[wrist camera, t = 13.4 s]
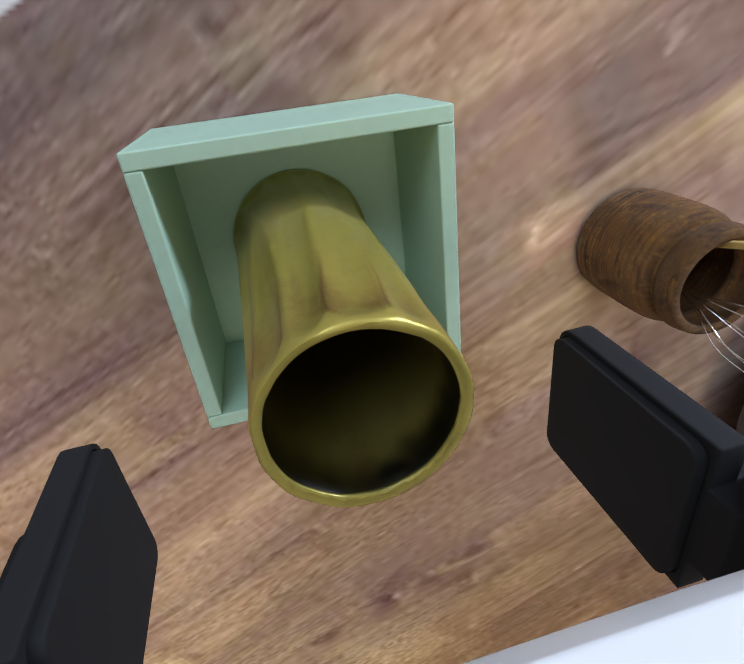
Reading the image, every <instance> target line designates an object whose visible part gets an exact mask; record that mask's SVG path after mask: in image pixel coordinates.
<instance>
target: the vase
mask: <svg viewBox="0 0 744 664" xmlns="http://www.w3.org/2000/svg"><path fill="white" fill-rule="evenodd" d="M233 240H234V245H235V248H236V252H237V261H238V269H239V284H240V297H241V307H242V321H243V333H244V347H245V363H246V376H247V390H248V424H247V426H248V430H249V433H250V436H251V439H252V442H253V445H254V448H255V452H256V455H257V457H258V460H259V463H260V464H261V466H262V467H263V469H264V471H265V472H266V473H267V474H268V475H269V476H270V477H271V478H272V480H274V481H275V482H276V483H277V484H278V485H279V486H280V487H281V488H282V489H284V490H285V491H286V492H288V493H289V494H291V495H293V496H295V497H298V498H301V499H304V500H307V501H311V502H315V503H319V504H323V505H328V506H336V507H354V506H362V505H368V504H372V503H377V502H381V501H384V500H387V499H390V498H393V497H395V496H397V495H399V494H402V493H403V492H405V491H407V490H409V489H411V488H412V487H414V486H416V485H418V484H419V483H421V482H423V481H424V480H425V479H427V478H428V477H429V476H431V475H432V474H433V473H434V472H435V471H436V470H438V469H439V468H440V467H441V466H442V465H443V464H444V462H445V461H446V460H447V459H448V458H449V457H450V455H451V454H452V452H453V451H454V450H455V448H456V447H457V445H458V444H459V442H460V440H461V439H462V437H463V435H464V434H465V432H466V429H467V426H468V423H469V420H470V418H471V415H472V411H473V396H474V394H473V380H472V377H471V373H470V370H469V367H468V365H467V363H466V361H465V359H464V357H463V355H462V354H461V353H460V351H459V350H458V349H457V347H456V346H455V344H454V343H453V341H452V339H451V338H450V337H449V335H448V334H447V332H446V331H445V330H444V328H443V327H442V326H441V324H440V323H439V322H438V320H437V319H436V318H435V317H434V315H433V314H432V313H431V312H430V311H429V309H428V308H427V307H426V305H425V304H424V303H423V301H422V300H421V298H420V297H419V295H418V294H417V292H416V291H415V289H414V288H413V286H412V285H411V283H410V282H409V280H408V279H407V278H406V276H405V275H404V274H403V272H402V271H401V269H400V268H399V267H398V265H397V264H396V262H395V261H394V260H393V258H392V257H391V256H390V254H389V253H388V251H387V250H386V249H385V247H384V246H383V245H382V243H381V242H380V241H379V240H378V239H377V237H376V236H375V235H374V234H373V233H372V232H371V230H370V229H369V227H368V226H367V225H366V221H365V218H364V215H363V212H362V210H361V208H360V206H359V204H358V202H357V200H356V199H355V197H354V196H353V194H352V193H351V192H350V190H349V189H348V188H347V187H346V186H345V185H343V184H342V183H341V182H340V181H338V180H336V179H335V178H333V177H331V176H329V175H327V174H324V173H322V172H318V171H314V170H309V169H292V170H286V171H282V172H278V173H275V174H273V175H271V176H269V177H267V178H265V179H264V180H262V181H261V182H259V183H258V184H257V185H256V186H255V187H254V188H253V189H252V190H251V191H250V192H249V193H248V194H247V195H246V197H245V198H244V200H243V201H242V203H241V205H240V207H239V209H238V212H237V214H236V218H235V223H234V231H233Z"/></svg>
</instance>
